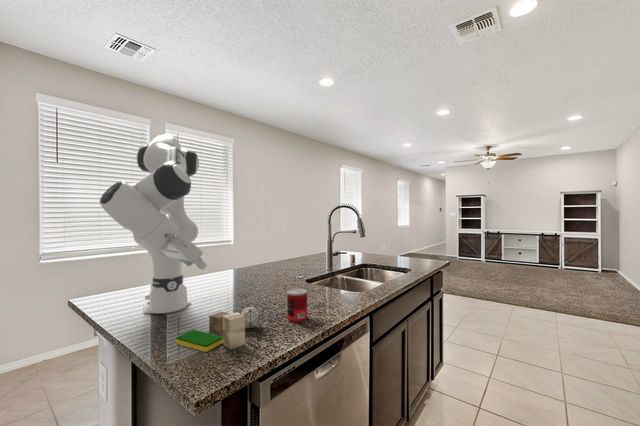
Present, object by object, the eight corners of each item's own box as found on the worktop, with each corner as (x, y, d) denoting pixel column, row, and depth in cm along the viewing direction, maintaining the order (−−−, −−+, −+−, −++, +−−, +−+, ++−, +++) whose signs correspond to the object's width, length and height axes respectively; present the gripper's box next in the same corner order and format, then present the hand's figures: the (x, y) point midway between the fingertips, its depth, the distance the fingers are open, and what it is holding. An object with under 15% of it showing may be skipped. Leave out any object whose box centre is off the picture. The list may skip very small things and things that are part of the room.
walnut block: (209, 332, 102) (209, 315, 102) (221, 327, 107) (220, 311, 107) (218, 335, 100) (218, 318, 100) (230, 330, 104) (230, 313, 104)
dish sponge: (206, 353, 88) (206, 345, 88) (175, 344, 94) (175, 337, 94) (223, 343, 94) (223, 336, 94) (193, 336, 100) (193, 329, 100)
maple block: (223, 344, 93) (222, 316, 93) (237, 339, 96) (237, 312, 96) (230, 349, 89) (229, 320, 89) (245, 344, 93) (244, 316, 93)
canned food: (310, 316, 117) (309, 289, 116) (302, 324, 109) (302, 294, 109) (292, 314, 119) (292, 287, 119) (284, 321, 111) (283, 293, 111)
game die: (252, 340, 104) (254, 324, 98) (232, 330, 106) (232, 313, 100) (265, 320, 111) (267, 304, 105) (245, 311, 113) (246, 295, 107)
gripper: (183, 225, 73) (220, 260, 79) (157, 225, 87) (191, 255, 94) (164, 244, 70) (205, 279, 76) (141, 241, 84) (177, 270, 91)
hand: (197, 265), depth 85 cm, fingers open, 8 cm apart
